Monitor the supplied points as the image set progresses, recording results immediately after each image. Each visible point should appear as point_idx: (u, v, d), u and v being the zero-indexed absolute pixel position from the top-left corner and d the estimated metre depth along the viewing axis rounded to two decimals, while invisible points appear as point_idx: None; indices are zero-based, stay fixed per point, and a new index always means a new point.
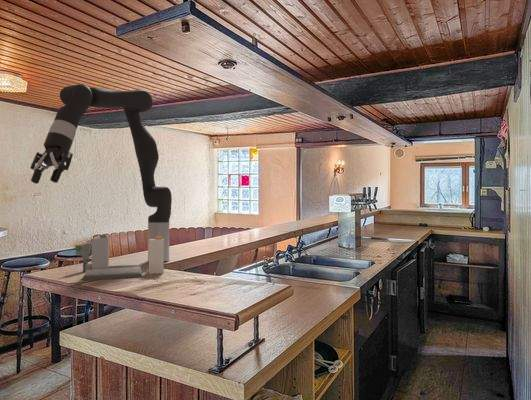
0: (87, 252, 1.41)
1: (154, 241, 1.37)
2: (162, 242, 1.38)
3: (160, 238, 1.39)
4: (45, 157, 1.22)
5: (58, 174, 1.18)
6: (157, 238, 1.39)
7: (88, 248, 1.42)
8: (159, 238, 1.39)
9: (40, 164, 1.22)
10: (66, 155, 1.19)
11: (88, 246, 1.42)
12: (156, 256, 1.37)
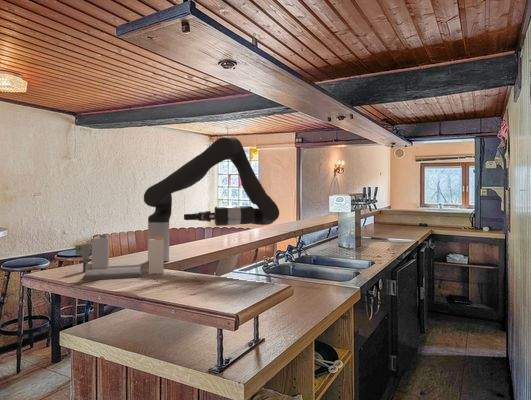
0: (87, 252, 1.41)
1: (154, 241, 1.37)
2: (162, 242, 1.38)
3: (160, 238, 1.39)
4: None
5: None
6: (157, 238, 1.39)
7: (88, 248, 1.42)
8: (159, 238, 1.39)
9: None
10: None
11: (88, 246, 1.42)
12: (156, 256, 1.37)
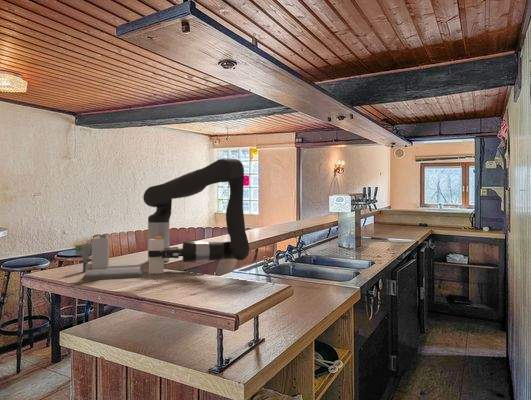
0: (87, 252, 1.41)
1: (154, 241, 1.37)
2: (162, 242, 1.38)
3: (160, 238, 1.39)
4: None
5: None
6: (157, 238, 1.39)
7: (88, 248, 1.42)
8: (159, 238, 1.39)
9: None
10: None
11: (88, 246, 1.42)
12: None
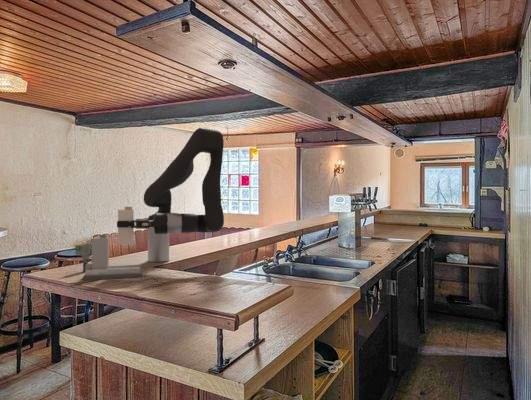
0: (87, 252, 1.41)
1: (123, 211, 1.32)
2: (132, 212, 1.32)
3: (130, 208, 1.34)
4: None
5: None
6: (126, 208, 1.33)
7: (88, 248, 1.42)
8: (129, 208, 1.33)
9: None
10: None
11: (88, 246, 1.42)
12: None
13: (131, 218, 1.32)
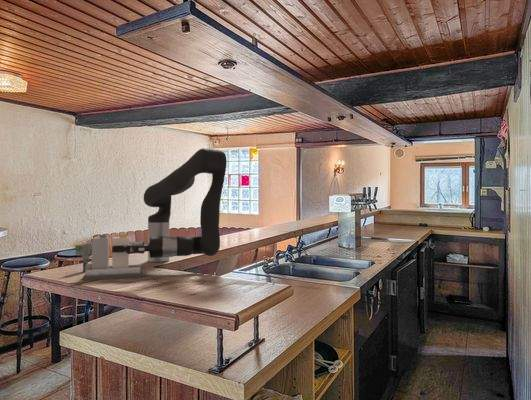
0: (87, 252, 1.41)
1: (118, 239, 1.31)
2: (126, 240, 1.32)
3: (125, 236, 1.33)
4: None
5: None
6: (121, 236, 1.32)
7: (88, 248, 1.42)
8: (123, 236, 1.33)
9: None
10: None
11: (88, 246, 1.42)
12: (119, 255, 1.31)
13: None
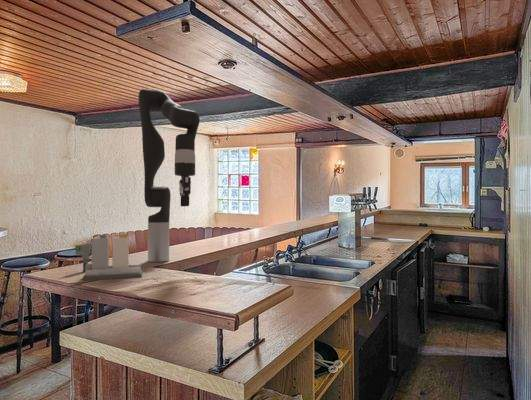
0: (87, 252, 1.41)
1: (118, 239, 1.31)
2: (126, 240, 1.32)
3: (125, 236, 1.33)
4: None
5: None
6: (121, 236, 1.32)
7: (88, 248, 1.42)
8: (123, 236, 1.33)
9: None
10: None
11: (88, 246, 1.42)
12: (119, 255, 1.31)
13: (126, 246, 1.31)
